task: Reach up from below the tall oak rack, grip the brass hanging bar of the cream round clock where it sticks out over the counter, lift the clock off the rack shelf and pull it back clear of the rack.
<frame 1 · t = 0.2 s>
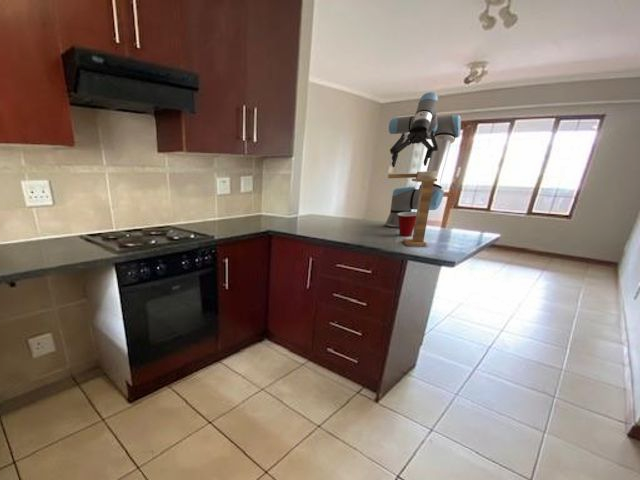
hand: (408, 164, 153), 36 cm above the countertop, tool tilted 35°, fingers open, 13 cm apart
plastic cup: (405, 235, 183), on the countertop
rack: (413, 243, 163), on the countertop
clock: (424, 178, 152), point 30 cm above the countertop, touching rack
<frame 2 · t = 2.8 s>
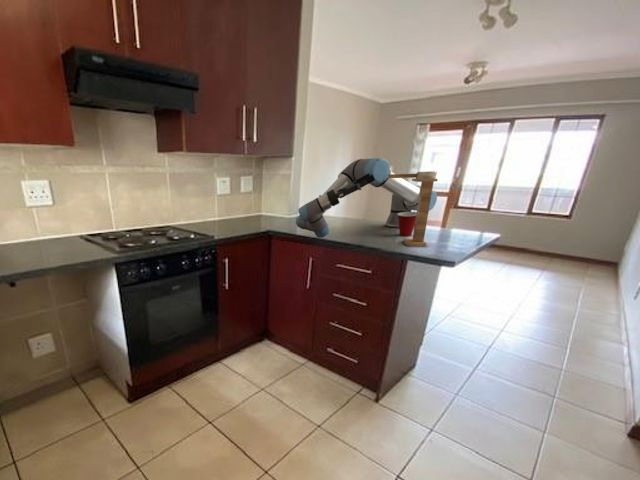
hand: (371, 176, 154), 32 cm above the countertop, tool pointing upward, fingers open, 13 cm apart
nothing on the countertop moved.
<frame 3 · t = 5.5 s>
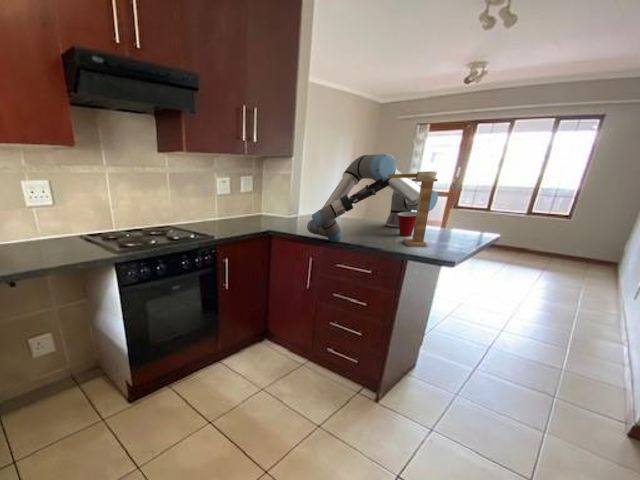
hand: (385, 181, 155), 29 cm above the countertop, tool pointing upward, fingers open, 13 cm apart
nothing on the countertop moved.
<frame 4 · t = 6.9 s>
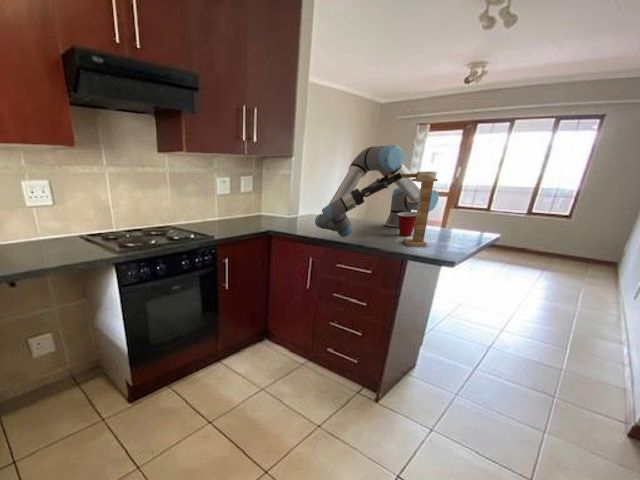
hand: (397, 174, 153), 32 cm above the countertop, tool pointing upward, fingers open, 13 cm apart
nothing on the countertop moved.
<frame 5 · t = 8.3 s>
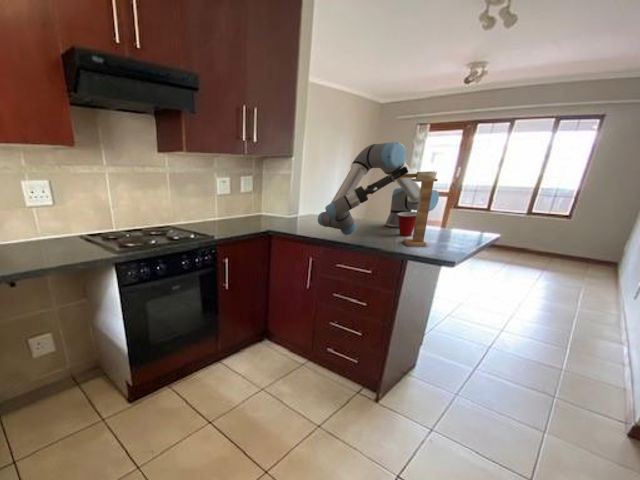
hand: (406, 169, 152), 34 cm above the countertop, tool pointing upward, fingers closed on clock, 2 cm apart
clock: (424, 178, 152), point 30 cm above the countertop, touching gripper, rack
everything else where it was.
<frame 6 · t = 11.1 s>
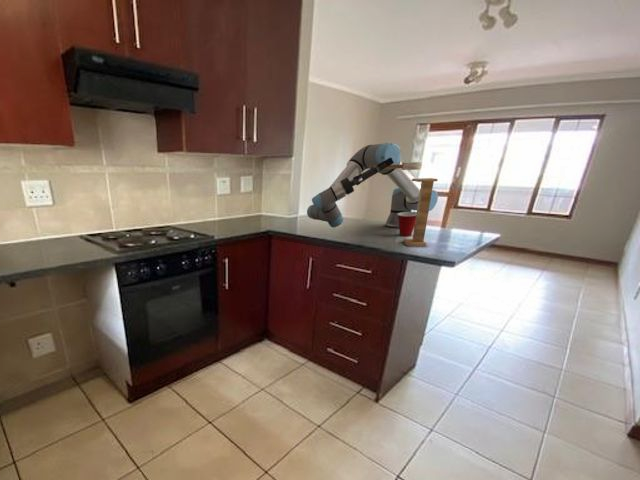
hand: (391, 160, 152), 38 cm above the countertop, tool pointing upward, fingers closed on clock, 2 cm apart
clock: (409, 169, 152), point 34 cm above the countertop, touching gripper
everything else where it was.
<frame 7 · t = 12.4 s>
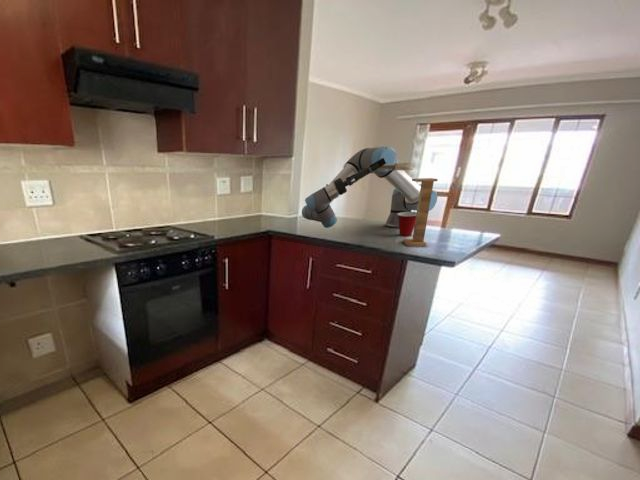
hand: (384, 160, 152), 38 cm above the countertop, tool pointing upward, fingers closed on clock, 2 cm apart
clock: (402, 170, 152), point 34 cm above the countertop, touching gripper
everything else where it was.
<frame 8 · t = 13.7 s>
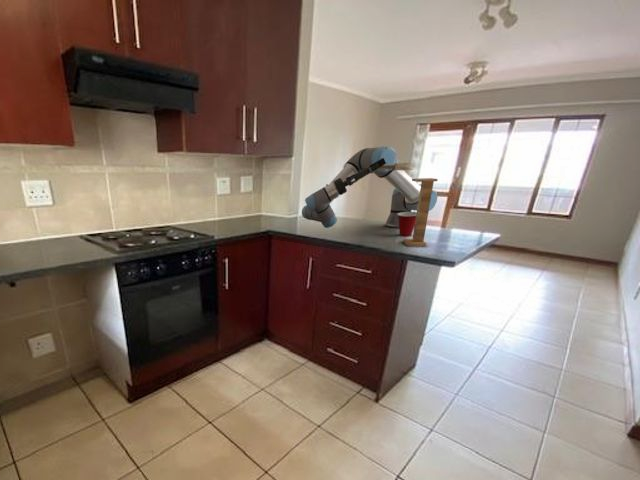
hand: (384, 160, 152), 38 cm above the countertop, tool pointing upward, fingers closed on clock, 2 cm apart
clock: (402, 170, 152), point 34 cm above the countertop, touching gripper
everything else where it was.
at the end: the gripper is holding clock; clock moved 10.7 cm from its start; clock touching gripper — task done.
